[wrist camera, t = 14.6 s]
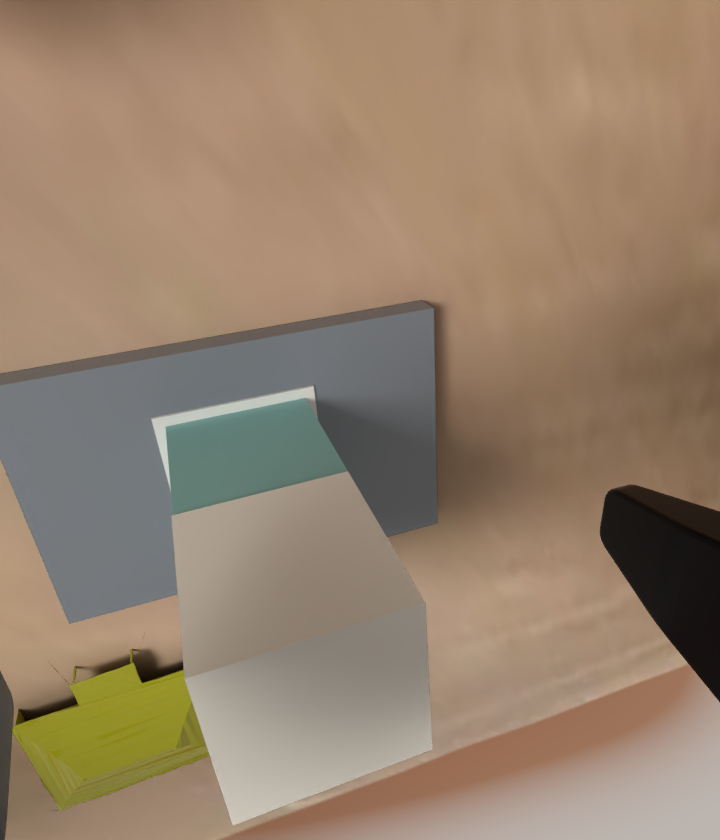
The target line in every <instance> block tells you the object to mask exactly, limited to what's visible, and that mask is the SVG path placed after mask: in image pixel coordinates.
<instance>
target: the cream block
mask: <svg viewBox="0 0 720 840" xmlns="http://www.w3.org/2000/svg"><path fill="white" fill-rule="evenodd" d="M171 518H172V530H173V543H174V555H175V568H176V580H177V593H178V605H179V617H180V630H181V642H182V655H183V667H184V679H185V682H186V685H187V688H188V691H189V694H190V697H191V700H192V703H193V706H194V709H195V712H196V715H197V718H198V721H199V724H200V728H201V731H202V734H203V737H204V740H205V743H206V746H207V749H208V752H209V755H210V758H211V761H212V764H213V767H214V770H215V773H216V776H217V779H218V782H219V785H220V788H221V791H222V794H223V797H224V800H225V803H226V806H227V809H228V812H229V815H230V818H231V821H232V824H233V825H235V824H238V823H241V822H243V821H246V820H249V819H251V818H254V817H257V816H259V815H262V814H264V813H267V812H270V811H272V810H275V809H278V808H280V807H283V806H285V805H288V804H291V803H293V802H296V801H299V800H301V799H304V798H306V797H309V796H312V795H314V794H317V793H320V792H322V791H325V790H328V789H330V788H333V787H335V786H338V785H341V784H343V783H346V782H349V781H351V780H354V779H356V778H359V777H362V776H364V775H367V774H370V773H372V772H375V771H377V770H380V769H383V768H385V767H388V766H391V765H393V764H396V763H399V762H401V761H404V760H406V759H409V758H412V757H414V756H417V755H420V754H422V753H425V752H427V751H430V750H432V731H431V710H430V688H429V666H428V645H427V623H426V603H425V601H424V599H423V598H422V596H421V594H420V592H419V591H418V589H417V587H416V586H415V584H414V582H413V581H412V579H411V577H410V576H409V574H408V572H407V570H406V569H405V567H404V565H403V564H402V562H401V560H400V559H399V557H398V555H397V553H396V552H395V550H394V548H393V547H392V545H391V543H390V542H389V540H388V538H387V537H386V535H385V533H384V531H383V530H382V528H381V526H380V525H379V523H378V521H377V520H376V518H375V516H374V514H373V513H372V511H371V509H370V508H369V506H368V504H367V503H366V501H365V499H364V498H363V496H362V494H361V492H360V491H359V489H358V487H357V486H356V484H355V482H354V481H353V479H352V477H351V475H350V474H349V472H348V471H346V472H342V473H339V474H335V475H331V476H327V477H323V478H319V479H315V480H311V481H307V482H303V483H299V484H295V485H291V486H287V487H283V488H279V489H275V490H271V491H267V492H263V493H259V494H255V495H251V496H247V497H243V498H239V499H235V500H231V501H227V502H223V503H219V504H215V505H211V506H208V507H204V508H200V509H196V510H192V511H188V512H184V513H180V514H176V515H172V516H171Z"/></svg>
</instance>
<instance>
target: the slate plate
mask: <svg viewBox="0 0 720 840" xmlns="http://www.w3.org/2000/svg"><path fill="white" fill-rule="evenodd" d="M302 398H305V399H306V401H307V403H308V404H309V406H310V408H311V409H312V411H313V413H314V415H315V416H316V418H317V420H318V421H319V423H320V425H321V426H322V428H323V430H324V431H325V433H326V435H327V437H328V438H329V440H330V442H331V443H332V445H333V447H334V448H335V450H336V452H337V454H338V455H339V457H340V459H341V460H342V462H343V464H344V465H345V467H346V469H347V470H348V472H349V474H350V475H351V477H352V479H353V481H354V482H355V484H356V486H357V487H358V489H359V491H360V492H361V494H362V496H363V498H364V499H365V501H366V503H367V504H368V506H369V508H370V509H371V511H372V513H373V514H374V516H375V518H376V520H377V521H378V523H379V525H380V526H381V528H382V530H383V531H384V533H385V535H386V537H389V536H392V535H396V534H400V533H403V532H407V531H411V530H414V529H418V528H422V527H425V526H429V525H433V524H436V523H438V519H437V461H436V403H435V345H434V308H433V307H432V306H430V305H428V304H427V303H425V302H424V301H422V300H421V301H415V302H409V303H404V304H398V305H392V306H386V307H381V308H375V309H369V310H363V311H358V312H352V313H346V314H341V315H335V316H329V317H323V318H318V319H312V320H306V321H300V322H295V323H289V324H283V325H277V326H272V327H266V328H260V329H255V330H249V331H243V332H237V333H232V334H226V335H220V336H214V337H209V338H203V339H197V340H192V341H186V342H180V343H174V344H169V345H163V346H157V347H151V348H146V349H140V350H134V351H129V352H123V353H117V354H111V355H106V356H100V357H94V358H88V359H83V360H77V361H71V362H66V363H60V364H54V365H48V366H43V367H37V368H31V369H25V370H20V371H14V372H8V373H2V374H0V459H1V462H2V464H3V466H4V469H5V471H6V474H7V476H8V478H9V481H10V483H11V486H12V488H13V490H14V493H15V495H16V498H17V500H18V502H19V505H20V507H21V510H22V512H23V514H24V517H25V519H26V522H27V524H28V526H29V529H30V531H31V533H32V536H33V538H34V541H35V543H36V545H37V548H38V550H39V553H40V555H41V557H42V560H43V562H44V565H45V567H46V569H47V572H48V574H49V577H50V579H51V581H52V584H53V586H54V589H55V591H56V593H57V596H58V598H59V601H60V603H61V605H62V608H63V610H64V613H65V615H66V617H67V620H68V622H69V624H71V623H74V622H78V621H82V620H85V619H89V618H93V617H96V616H100V615H104V614H107V613H111V612H115V611H118V610H122V609H126V608H129V607H133V606H137V605H140V604H144V603H148V602H151V601H155V600H158V599H162V598H166V597H169V596H173V595H177V594H178V593H177V580H176V568H175V555H174V543H173V530H172V518H171V516H172V515H173V511H172V499H171V487H170V475H169V463H168V452H167V440H166V428H165V427H166V426H171V425H175V424H180V423H185V422H190V421H195V420H200V419H205V418H209V417H214V416H219V415H224V414H229V413H234V412H239V411H243V410H248V409H253V408H258V407H263V406H268V405H273V404H278V403H282V402H287V401H292V400H297V399H302Z"/></svg>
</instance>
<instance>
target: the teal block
mask: <svg viewBox="0 0 720 840" xmlns="http://www.w3.org/2000/svg"><path fill="white" fill-rule="evenodd" d="M165 428H166V440H167V452H168V463H169V475H170V487H171V499H172V511H173V515H176V514H180V513H184V512H188V511H192V510H196V509H200V508H204V507H208V506H211V505H215V504H219V503H223V502H227V501H231V500H235V499H239V498H243V497H247V496H251V495H255V494H259V493H263V492H267V491H271V490H275V489H279V488H283V487H287V486H291V485H295V484H299V483H303V482H307V481H311V480H315V479H319V478H323V477H327V476H331V475H335V474H339V473H342V472H346V471H348V470H347V469H346V467H345V465H344V464H343V462H342V460H341V459H340V457H339V455H338V454H337V452H336V450H335V448H334V447H333V445H332V443H331V442H330V440H329V438H328V437H327V435H326V433H325V431H324V430H323V428H322V426H321V425H320V423H319V421H318V420H317V418H316V416H315V415H314V413H313V411H312V409H311V408H310V406H309V404H308V403H307V401H306V399H305V398H302V399H297V400H292V401H287V402H282V403H278V404H273V405H268V406H263V407H258V408H253V409H248V410H243V411H239V412H234V413H229V414H224V415H219V416H214V417H209V418H205V419H200V420H195V421H190V422H185V423H180V424H175V425H171V426H166V427H165Z"/></svg>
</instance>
